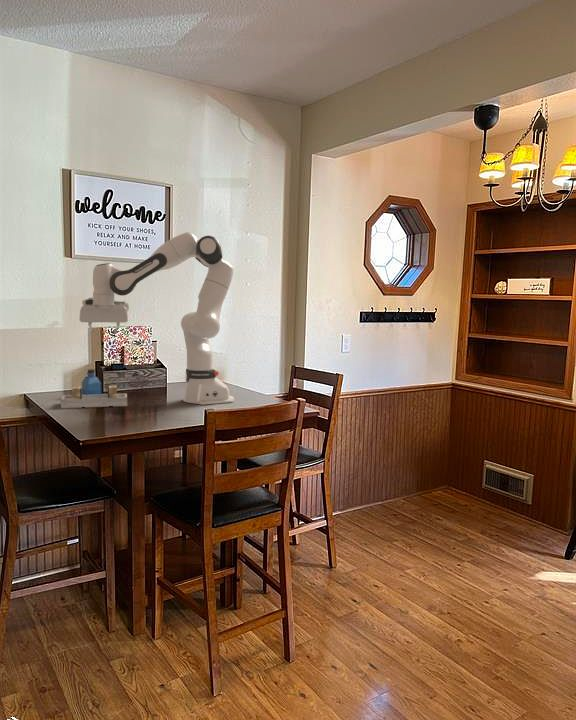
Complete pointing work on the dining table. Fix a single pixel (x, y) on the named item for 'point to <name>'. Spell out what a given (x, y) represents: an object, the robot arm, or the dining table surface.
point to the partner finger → (112, 391)
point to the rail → (93, 401)
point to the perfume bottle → (91, 384)
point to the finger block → (77, 392)
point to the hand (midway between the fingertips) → (104, 332)
